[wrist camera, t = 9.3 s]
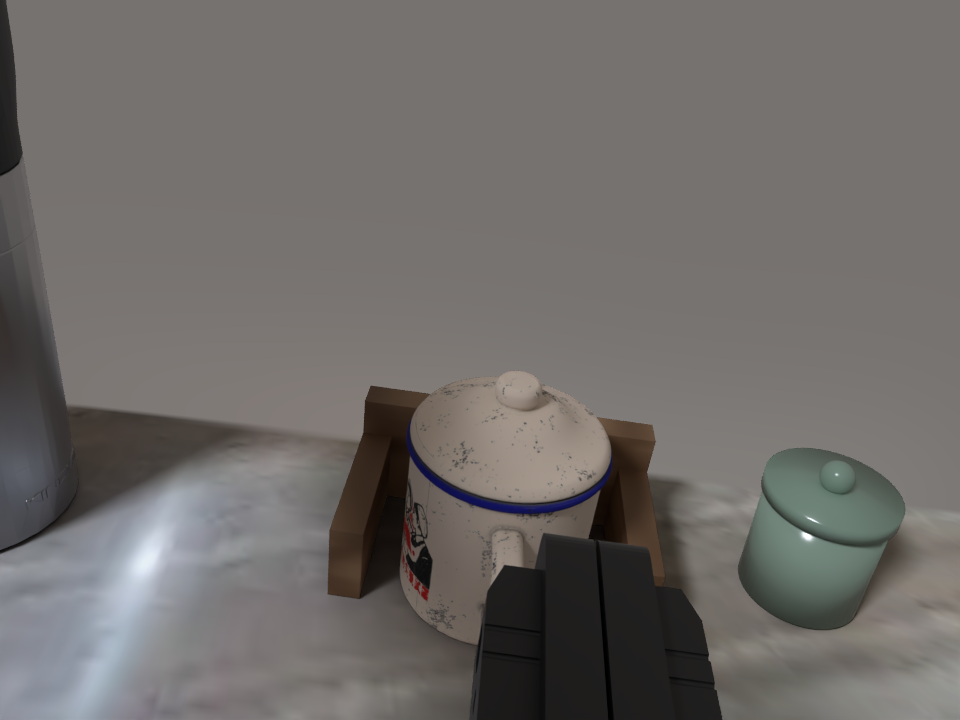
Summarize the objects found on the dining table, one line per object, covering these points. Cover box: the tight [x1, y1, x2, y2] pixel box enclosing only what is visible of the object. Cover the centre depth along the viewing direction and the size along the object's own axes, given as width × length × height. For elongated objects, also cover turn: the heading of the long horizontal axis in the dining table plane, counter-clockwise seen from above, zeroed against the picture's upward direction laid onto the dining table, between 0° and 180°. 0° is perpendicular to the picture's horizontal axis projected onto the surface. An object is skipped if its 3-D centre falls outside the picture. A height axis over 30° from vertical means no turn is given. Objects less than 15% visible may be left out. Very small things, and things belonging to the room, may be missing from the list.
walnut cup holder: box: [328, 386, 665, 599], centre depth 40 cm, size 15×9×6 cm, turn 86°
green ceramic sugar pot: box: [738, 448, 905, 630], centre depth 40 cm, size 6×6×8 cm
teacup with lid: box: [400, 371, 612, 645], centre depth 35 cm, size 12×9×12 cm
